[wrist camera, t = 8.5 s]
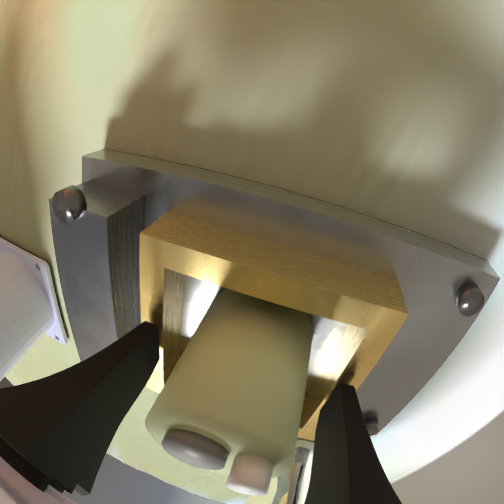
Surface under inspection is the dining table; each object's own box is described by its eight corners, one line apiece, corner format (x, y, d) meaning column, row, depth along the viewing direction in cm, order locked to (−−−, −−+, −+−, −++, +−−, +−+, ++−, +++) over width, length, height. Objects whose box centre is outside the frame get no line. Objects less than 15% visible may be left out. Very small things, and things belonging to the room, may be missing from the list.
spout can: (207, 350, 14) (146, 473, 8) (209, 271, 12) (114, 415, 6) (299, 372, 14) (271, 510, 7) (325, 297, 11) (304, 474, 5)
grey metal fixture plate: (113, 333, 18) (75, 381, 14) (103, 149, 12) (28, 176, 8) (375, 415, 16) (374, 477, 12) (486, 260, 10) (532, 326, 6)
